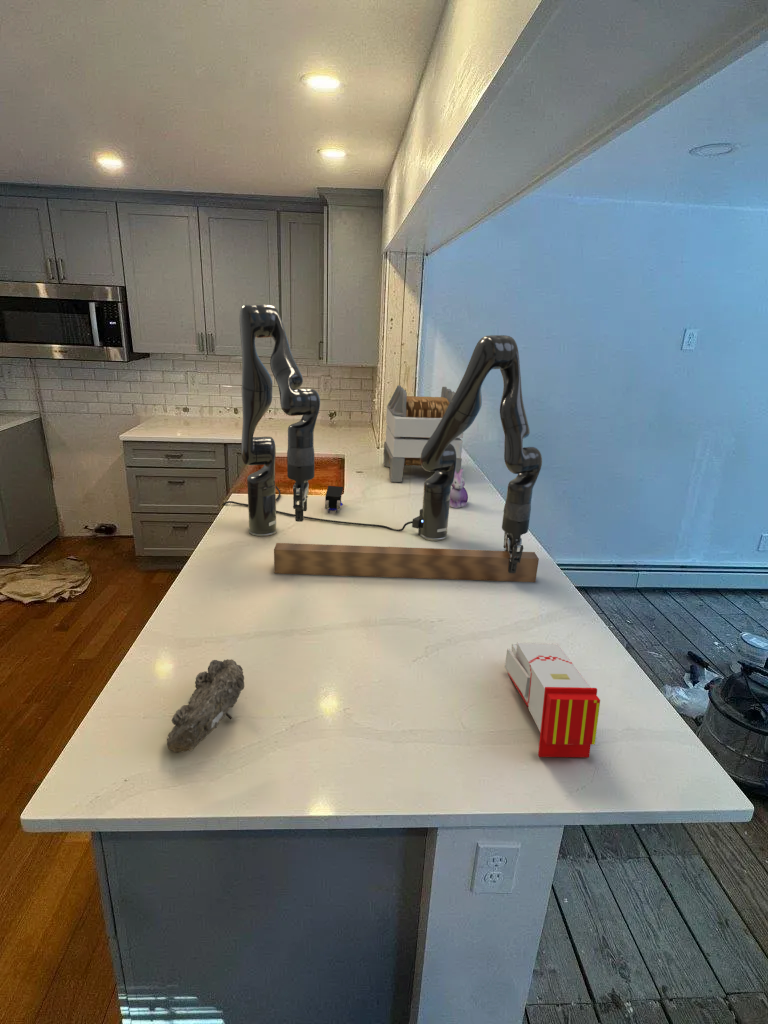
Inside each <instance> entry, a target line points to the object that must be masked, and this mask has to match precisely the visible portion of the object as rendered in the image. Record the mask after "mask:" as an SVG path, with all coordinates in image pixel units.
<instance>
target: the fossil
mask: <svg viewBox="0 0 768 1024" xmlns="http://www.w3.org/2000/svg"><path fill="white" fill-rule="evenodd" d="M243 670H244V669H243V667H242V665H240V664H237V662H236V661H235V660H234V659H232V658H231V659H227V658H226V659H224V660H223V661H222V660H217V659H212V660H211V661H210V663H209V665H208V666H207V671H201V672H199V673H198V674H197V675H196V676H195V680H194V684H195V685H194V687H195V689H194V690H193V693H192V694H191V697H190V698H189V700H188V704H184V705H182V706H181V707H180V709H177V710H176V711H175V713H174V715H173V716H172V718H171V723H172V724H173V727H172V730H171V731H170V732H168V734H167V738H166V741H167V742H166V745H167V749H168V750H169V751H173V752H174V753H176V754H178V753H182V752H188V751H189V752H192V751H193V750H195V748H196V747H197V746H199V744H200V743H201V742H203V741H204V740H205V739H206V738H207V737H208V736H209V735H210V734H211V733H212V732H214V730H215V729H217V727H218V726H219V724H220V722H221V721H222V720H223V719H224V718H225V716H226V717H227V719H229V720H233V717H232V715H230V714H229V710H230V709H231V708H234V706H235V704H236V703H237V702H238V699H239V697H240V695H241V693H242V691H243V690H245V689H244V688H245V675H244V671H243Z"/></svg>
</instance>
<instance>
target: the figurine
mask: <svg viewBox="0 0 768 1024" xmlns="http://www.w3.org/2000/svg"><path fill="white" fill-rule="evenodd" d="M463 474H464V468H461V469H460V471H459V473H457V472H456V470H455V475H454V481H453V484H452V486H451V493H450V505H449V508H454V509H455V508H456V509H459V508H464V507H466V506H467V504H468V500H469V495H468V491H467V489H466V487H465V484H466V483H465V479H464V477H463V476H464V475H463Z"/></svg>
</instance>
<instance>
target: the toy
mask: <svg viewBox="0 0 768 1024" xmlns="http://www.w3.org/2000/svg"><path fill="white" fill-rule="evenodd" d="M504 668H505V670H506V671H507V675H508V676H509V678H510V680H511V682H512V683H513V685H514V687H515V688H516V690H517V691H518V693H519V695H520V697H521V698H522V700H523V702H524V703H525V705H526V707H527V708H528V711H529V713H530V715H531V717H532V719H533V721H534V723H535V725H536V727H537V729H538V731H539V743H538V753H537V755H538V757H539V758H590V753H591V746H593V745H595V744H596V738H597V729H598V722H599V713H600V706H601V699H600V698H599V696H598V688H597V687H591V686H590V684H589V683H588V682H587V680H586V679H585V678H584V676H583V675H582V674H581V672H580V671H579V669H578V668H577V667H576V666H575V664H574V663H573V661H572V660H571V659H570V658H569V657H568V655H567V654H566V653H565V651H564V649H563V648H562V647H561V646H560V645H559V643H556V642H555V643H554V642H516V643H511V648H507V649H506V654H505V662H504Z"/></svg>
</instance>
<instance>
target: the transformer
mask: <svg viewBox="0 0 768 1024" xmlns="http://www.w3.org/2000/svg"><path fill="white" fill-rule="evenodd" d="M455 392H456V391H453V390H452V389H451V388H447V386H442V387H441V392H440V393H441V394H440V396H415V395H414V396H413V395H412V396H411V395H407V394H408V393H407V390H406V389H404V388H403V387H402V385H399V384H398V385H397V386H396V388H395V390H394V392H393V394H392V395H391V398H390V400H389V402H388V404H387V405H386V413H385V414H386V415H385V423H386V428H385V438H384V442H383V466H384V467H388V468H389V475H388V476H389V477H388V478H389V480H390V482H391V483H402V482H403V475H404V469H405V466H406V467H407V466H411V467H412V466H413V467H415V466H416V467H417V466H418V467H422V466H421V462H420V457H421V453H422V450H423V448H424V446H425V444H426V443H427V442H428V440H429V439H430V437H431V436H432V434H433V433H434V431H435V430H436V428H437V426H438V424H439V423H440V421H441V419H442V417H443V415H444V414H445V411H446V409H447V407H448V405H449V403H450V401H451V399H452V398H453V396H454V394H455ZM463 438H464V432H463V433H462V434H460V435H459V436H458V437H457V438H455V439H454V440H453V441H452V442H451V443H450V444H452V445H453V446H454V448H455V450H456V468H455V470H456V472H457V473H459V471H460V469H462V461H463V460H462V453H463V442H464V441H463V440H462V439H463Z"/></svg>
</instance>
